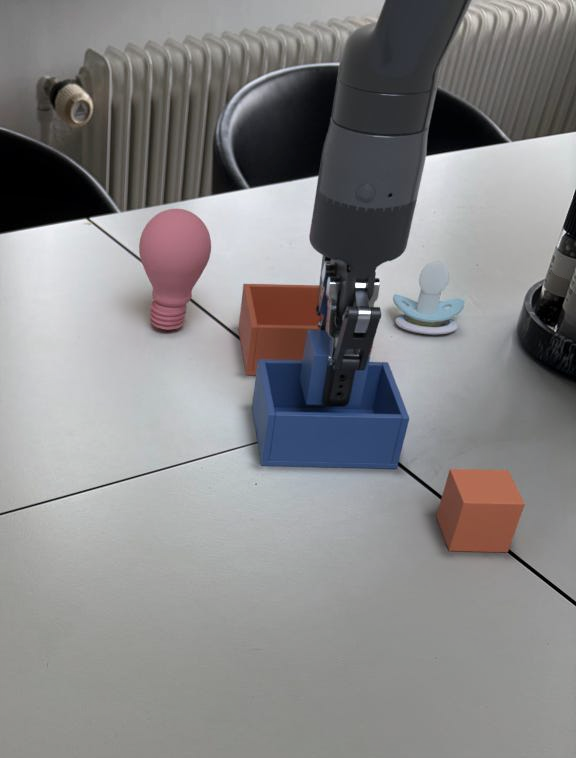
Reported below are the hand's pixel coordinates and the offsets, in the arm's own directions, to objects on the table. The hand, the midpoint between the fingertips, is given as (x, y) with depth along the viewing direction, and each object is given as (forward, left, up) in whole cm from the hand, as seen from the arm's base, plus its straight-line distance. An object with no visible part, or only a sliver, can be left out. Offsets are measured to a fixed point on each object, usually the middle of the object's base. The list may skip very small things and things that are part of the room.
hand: (330, 388), depth 90 cm
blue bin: (0, 0, -5) cm, 5 cm away
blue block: (0, 0, 0) cm, 0 cm away
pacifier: (-14, -23, -5) cm, 27 cm away
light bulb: (+13, -21, -5) cm, 25 cm away
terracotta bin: (0, -16, -5) cm, 17 cm away
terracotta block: (-10, +14, -5) cm, 18 cm away
